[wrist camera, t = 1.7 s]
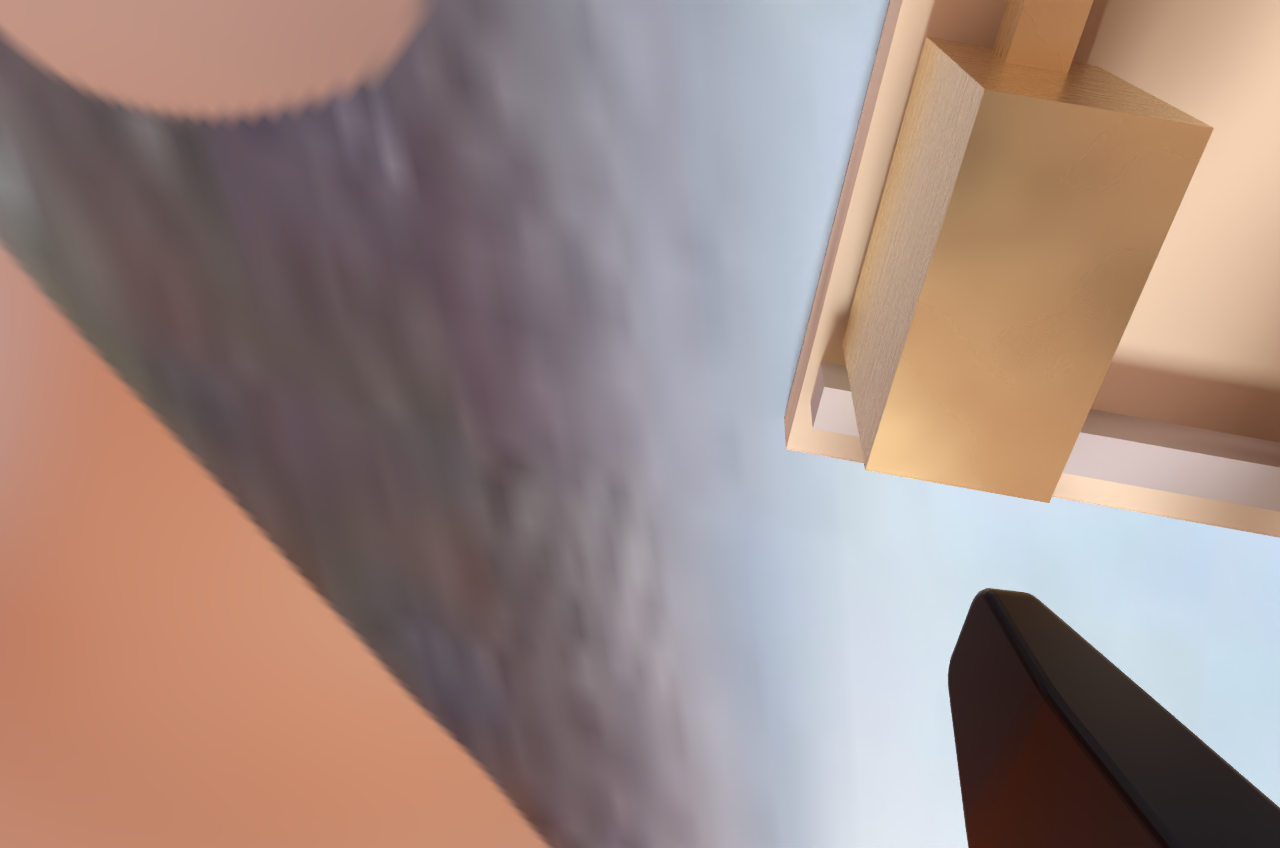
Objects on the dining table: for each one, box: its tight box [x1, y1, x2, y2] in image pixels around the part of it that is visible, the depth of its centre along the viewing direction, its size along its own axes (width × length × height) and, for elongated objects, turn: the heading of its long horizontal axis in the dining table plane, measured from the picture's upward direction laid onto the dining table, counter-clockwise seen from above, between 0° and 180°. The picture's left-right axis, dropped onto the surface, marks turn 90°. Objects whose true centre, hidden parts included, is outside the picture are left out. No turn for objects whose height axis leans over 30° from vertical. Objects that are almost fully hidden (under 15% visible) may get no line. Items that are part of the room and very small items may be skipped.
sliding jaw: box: [842, 0, 1214, 503], centre depth 15 cm, size 3×10×5 cm, turn 172°
